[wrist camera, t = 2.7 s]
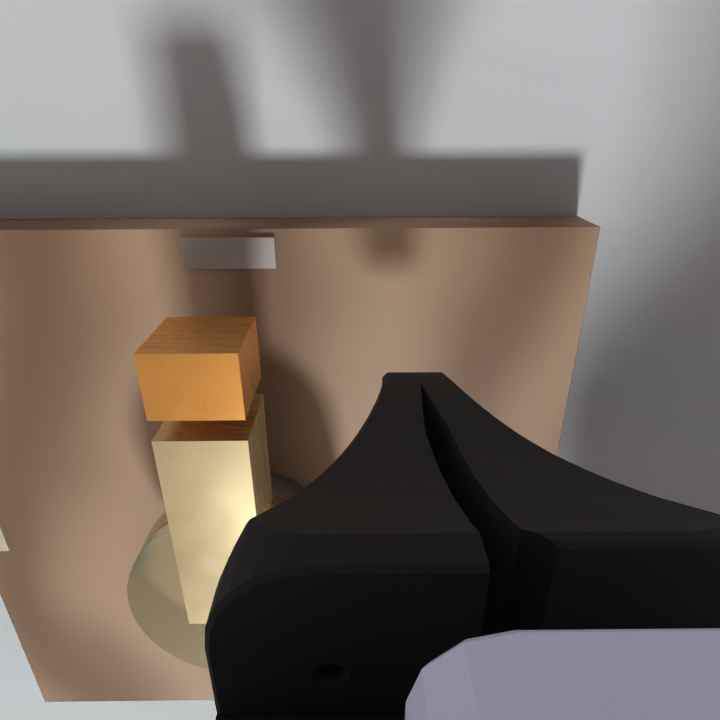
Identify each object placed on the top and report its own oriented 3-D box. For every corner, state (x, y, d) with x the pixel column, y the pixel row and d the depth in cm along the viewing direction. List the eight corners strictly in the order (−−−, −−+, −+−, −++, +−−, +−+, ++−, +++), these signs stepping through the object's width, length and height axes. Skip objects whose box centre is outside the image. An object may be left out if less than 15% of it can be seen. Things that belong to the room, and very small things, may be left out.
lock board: (577, 216, 15) (638, 245, 12) (501, 661, 23) (525, 750, 20) (-105, 220, 15) (-231, 249, 11) (63, 666, 23) (16, 756, 20)
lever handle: (349, 637, 17) (349, 707, 15) (161, 639, 17) (135, 710, 15) (344, 313, 12) (342, 352, 10) (82, 314, 12) (28, 354, 10)
